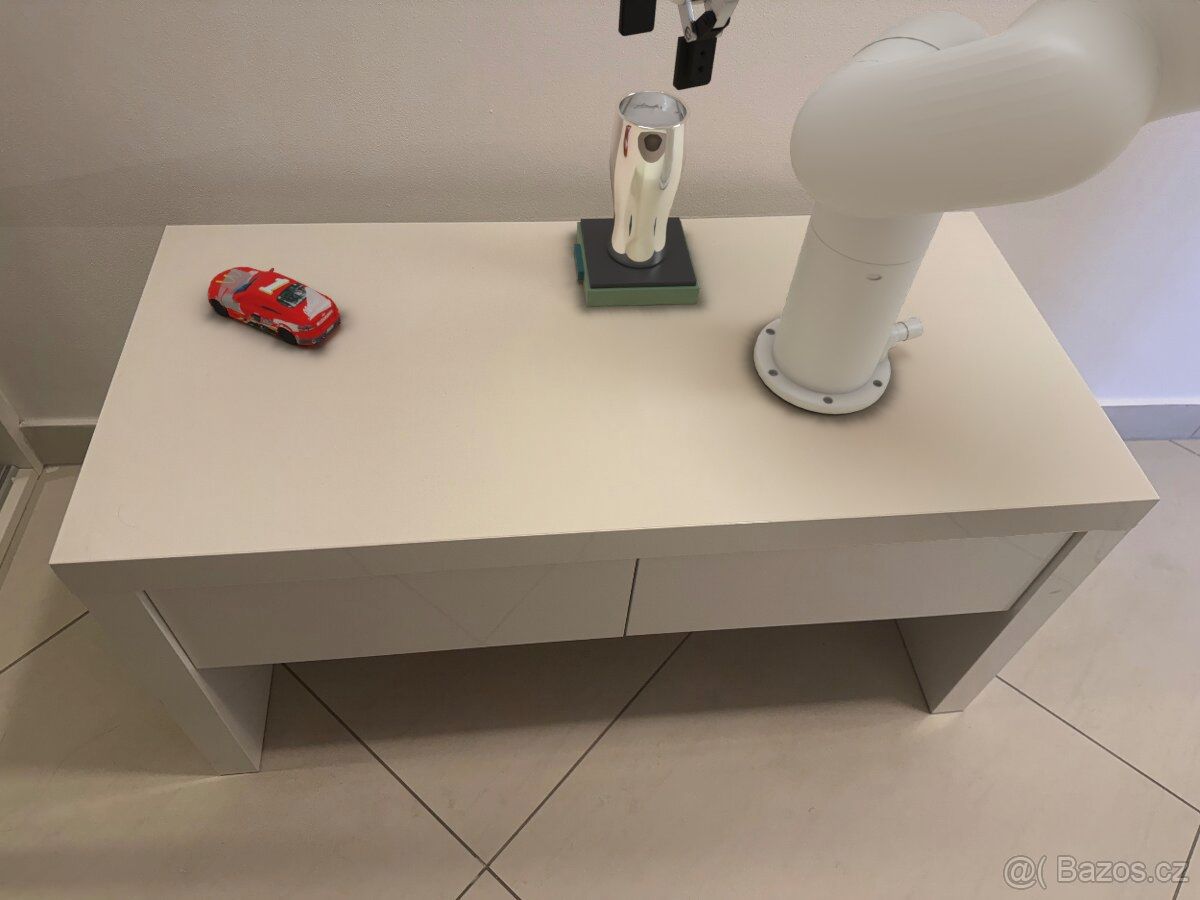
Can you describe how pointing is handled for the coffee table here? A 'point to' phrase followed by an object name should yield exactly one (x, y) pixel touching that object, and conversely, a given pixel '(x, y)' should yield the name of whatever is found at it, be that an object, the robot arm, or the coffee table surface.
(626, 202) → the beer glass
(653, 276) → the scale
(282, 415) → the coffee table surface
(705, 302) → the coffee table surface
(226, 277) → the race car
